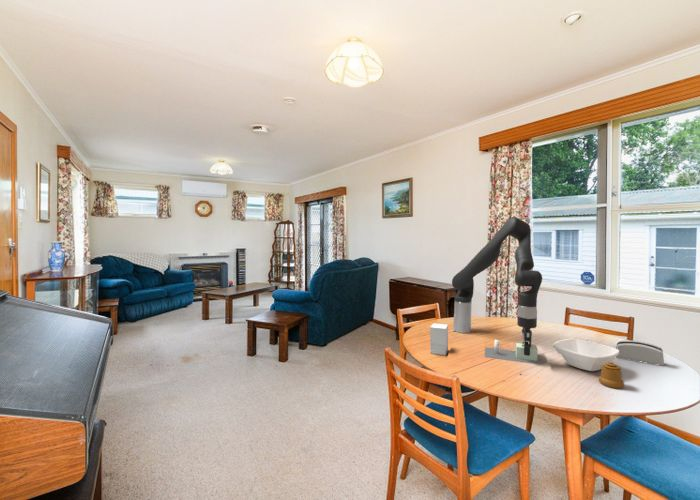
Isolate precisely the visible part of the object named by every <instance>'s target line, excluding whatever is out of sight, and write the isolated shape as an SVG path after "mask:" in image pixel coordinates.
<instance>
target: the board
mask: <svg viewBox="0 0 700 500" xmlns="http://www.w3.org/2000/svg"><path fill="white" fill-rule="evenodd" d="M493 346H494V347H487V346H485V347H484V355H483V356H484V357H483V358H488V359H495V360H503V361H510V362H517V363H518V362H519V363H523V364H524V363H525V364H526V363H527V364H533V365H540V366H541V365H542V363H541V361H540V357H539V354H537V361H534V360H526V359H519V358H516V350H510V349H504V348H500V340H499V339H494V344H493Z"/></svg>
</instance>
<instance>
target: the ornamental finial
mask: <svg viewBox="0 0 700 500" xmlns="http://www.w3.org/2000/svg"><path fill="white" fill-rule="evenodd" d="M622 375H623V374H622V368H620V366H619V365H617V364H616V363H614V362H607V363H606V364H604V365H602V369H601V375H600V376H598V382H599V383H600V384H601V385H603V386H604V387H606V388H610V389H616V390H618V389H622V388H623V387H624V386H625V382H624V380H623V379H622Z"/></svg>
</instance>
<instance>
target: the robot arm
mask: <svg viewBox="0 0 700 500" xmlns="http://www.w3.org/2000/svg"><path fill="white" fill-rule="evenodd" d="M531 235H532V233H531V225H530V224H529V223H527V222H526V221H524V220H522V219H520V218H518V217H516V216H512V217H510V218H508V219H506V221H505V222H504V224H502V225H501V227H500V228H499V230H498V231H497V232H496V234H495V235H493V236H492V238H491V239H490V240H489V241H488V242H487V244H485V246H483V247H482V248H481V249H480V251H479V252H477V254H476V255H475V256H474V257H473V258H472V259H471V260H470V261H469V262H468V263H467V265H465V267H463V268H462V269H461V270H460V271H458V272H457V273H456V274H455V275H454V276H453V277H452V280H451V284H452V287H453V288H454V289H455V290H457V293H456V294H455V296H454V309H453V311H454V314H453V332H456V333H460V334H469V333H470V334H471V333H472V299H473V296H474V287H475V285H474V284H475V281H474V277H475V276H477V275H478V274H481V273H482V272H484V271H485V270H487V269H488V268H490V267H491V266H492V265H493V264H494V263H495V262H496V261H497V260H498V259H499V257H500V254H501V249H502V244H503V243H504V241H505V240H506V239H507V238H508V237H509V236H510V237H512V238H514V239H516V240H517V242H518V244H519V246H518V247H517V248H516V250H515V252H514V258H515V264H516V265H515V266H516V271H515V275H514V282H515V284H516V285H517V286H519V287H529V288H530V289H528V290H525V291H524V290H523V291H521V292H519V293H518V307H517V326H518V327H521V332H520V333H521V337H522V338H521V340H522V344H524V355H527V356H529V355H530V347H531V345H532V340H533V339H532V338H533V337H532V336H533V331H532V330H531V329H536V328H537V323H538V309H537V308H538V307H537V305H538V304H537V303H538V299H537V298H538V295H539V294H538V293H539V290H540V288H541V285H542V282H543V275H542V273H541V272H540V271H539V270H533V269H534V267H535V263H534V258H533V254H532V246H531V243H532V241H531V239H532V238H531Z"/></svg>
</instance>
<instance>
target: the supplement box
mask: <svg viewBox="0 0 700 500" xmlns="http://www.w3.org/2000/svg"><path fill="white" fill-rule="evenodd" d="M429 329H430V330H429V334H430V335H429V336H430V347H429V348H430V349H429V350H430V352H429V353H430V354H433V355H434V354H435V355H440V356H447V353H448V352H447V351H449V324H441V323H432V324H431V326H430V327H429Z"/></svg>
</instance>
